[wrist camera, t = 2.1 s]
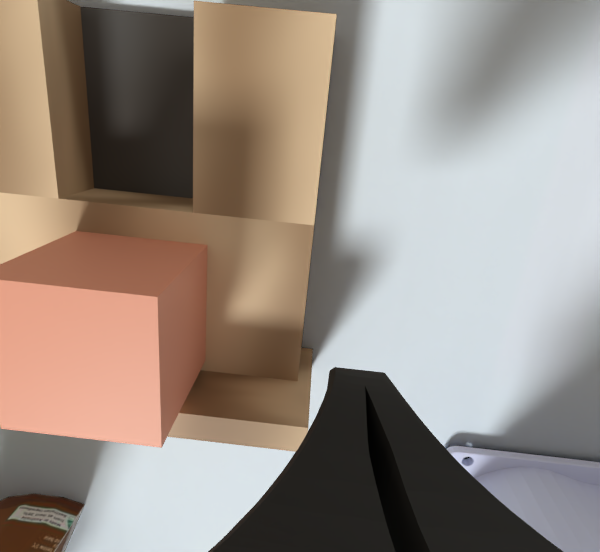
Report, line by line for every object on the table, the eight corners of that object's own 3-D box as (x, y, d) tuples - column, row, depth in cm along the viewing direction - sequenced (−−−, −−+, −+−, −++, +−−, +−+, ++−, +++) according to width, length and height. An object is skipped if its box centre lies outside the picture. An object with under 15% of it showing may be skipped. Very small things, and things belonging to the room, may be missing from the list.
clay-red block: (207, 245, 14) (157, 297, 10) (205, 360, 16) (161, 447, 12) (76, 231, 14) (-28, 276, 10) (87, 347, 16) (0, 428, 12)
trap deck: (350, 33, 14) (361, -11, 9) (310, 368, 19) (305, 452, 14) (-246, -23, 15) (-519, -92, 10) (-144, 318, 19) (-297, 382, 14)
